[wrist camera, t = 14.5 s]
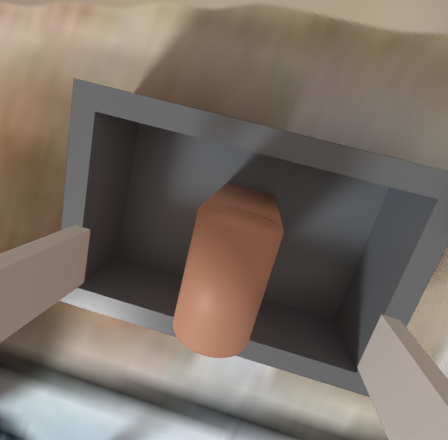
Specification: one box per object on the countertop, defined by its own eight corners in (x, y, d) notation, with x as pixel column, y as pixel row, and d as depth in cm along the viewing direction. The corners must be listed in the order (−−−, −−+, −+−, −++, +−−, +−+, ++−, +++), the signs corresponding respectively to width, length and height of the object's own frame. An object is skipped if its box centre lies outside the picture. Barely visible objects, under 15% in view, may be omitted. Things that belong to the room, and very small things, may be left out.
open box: (411, 170, 21) (480, 179, 15) (342, 331, 25) (370, 397, 19) (129, 99, 23) (73, 78, 16) (107, 261, 27) (54, 299, 20)
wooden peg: (275, 195, 22) (287, 245, 11) (254, 262, 24) (246, 368, 12) (226, 182, 22) (187, 217, 11) (210, 249, 24) (161, 341, 13)
